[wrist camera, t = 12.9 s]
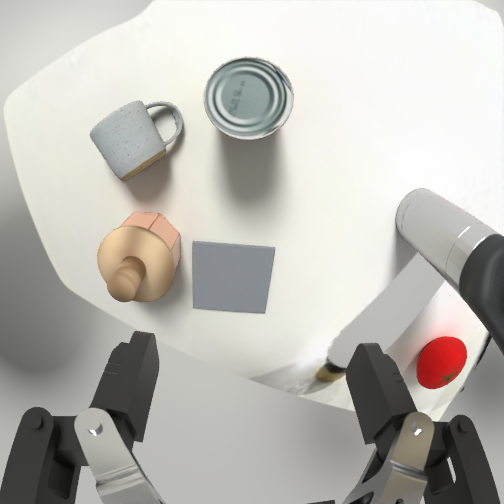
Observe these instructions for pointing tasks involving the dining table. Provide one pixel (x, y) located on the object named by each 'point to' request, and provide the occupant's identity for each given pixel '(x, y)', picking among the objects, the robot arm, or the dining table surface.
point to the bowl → (157, 229)
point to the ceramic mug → (132, 138)
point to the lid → (135, 264)
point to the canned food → (248, 98)
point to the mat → (231, 276)
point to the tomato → (441, 362)
